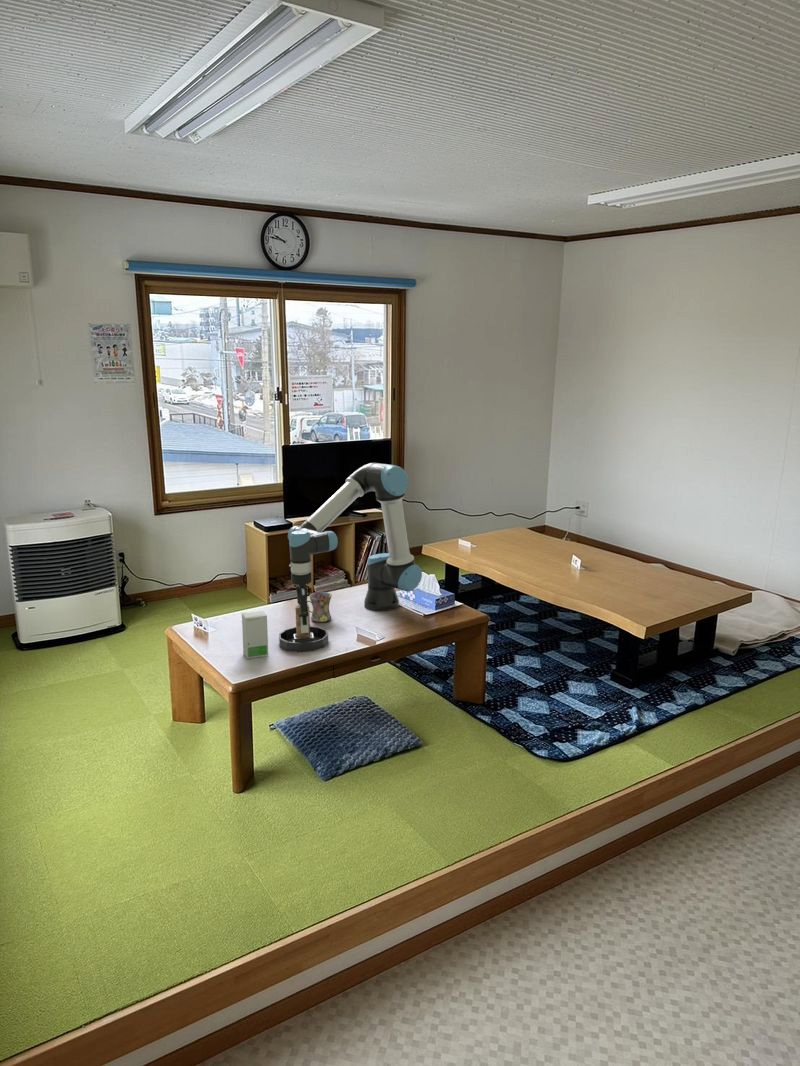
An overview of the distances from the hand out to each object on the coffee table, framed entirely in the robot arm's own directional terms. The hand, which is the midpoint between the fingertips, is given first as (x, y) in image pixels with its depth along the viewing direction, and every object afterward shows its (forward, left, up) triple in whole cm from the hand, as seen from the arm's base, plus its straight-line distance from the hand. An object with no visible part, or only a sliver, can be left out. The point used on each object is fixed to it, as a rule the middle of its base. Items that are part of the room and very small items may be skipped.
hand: (303, 626), depth 283 cm
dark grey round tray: (0, 0, -7) cm, 7 cm away
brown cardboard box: (0, 0, -6) cm, 6 cm away
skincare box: (+18, +8, -7) cm, 21 cm away
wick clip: (0, 0, -7) cm, 7 cm away
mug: (-8, -24, -7) cm, 27 cm away
